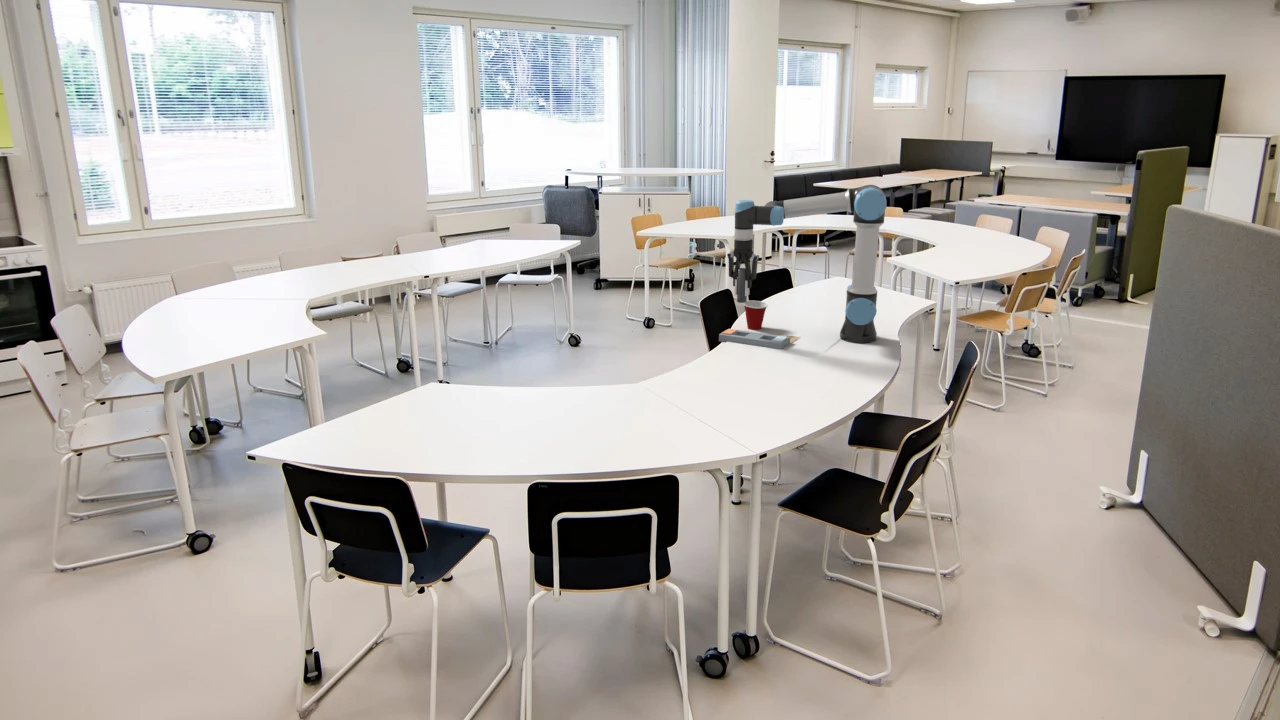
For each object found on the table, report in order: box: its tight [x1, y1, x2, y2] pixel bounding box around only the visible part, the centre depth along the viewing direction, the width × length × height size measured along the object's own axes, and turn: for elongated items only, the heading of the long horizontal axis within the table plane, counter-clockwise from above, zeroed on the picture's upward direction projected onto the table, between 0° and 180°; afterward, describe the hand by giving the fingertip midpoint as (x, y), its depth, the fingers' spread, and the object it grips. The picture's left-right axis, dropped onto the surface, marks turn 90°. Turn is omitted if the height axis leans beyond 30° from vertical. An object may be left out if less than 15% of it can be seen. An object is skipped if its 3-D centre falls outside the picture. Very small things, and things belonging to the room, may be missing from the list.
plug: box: [736, 267, 748, 304], centre depth 342 cm, size 4×4×14 cm
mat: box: [776, 333, 801, 344], centre depth 350 cm, size 10×10×1 cm
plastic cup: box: [743, 300, 769, 331], centre depth 364 cm, size 11×11×12 cm
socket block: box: [718, 328, 791, 350], centre depth 346 cm, size 28×10×4 cm, turn 59°
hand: (741, 294), depth 343 cm, fingers closed on plug, 4 cm apart
